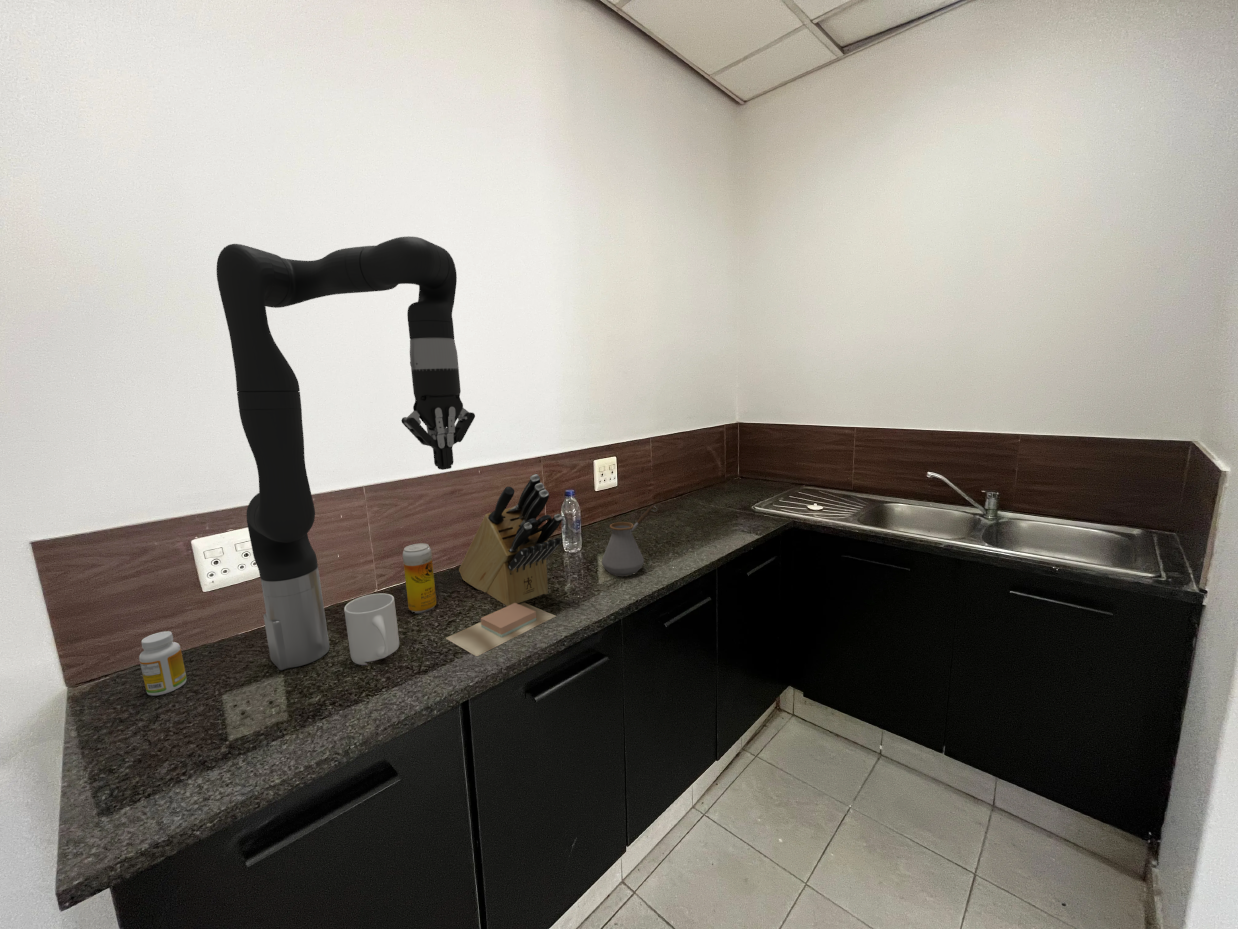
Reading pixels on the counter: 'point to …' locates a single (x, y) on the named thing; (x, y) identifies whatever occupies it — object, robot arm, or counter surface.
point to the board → (492, 634)
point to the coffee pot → (623, 549)
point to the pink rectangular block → (508, 619)
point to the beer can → (419, 577)
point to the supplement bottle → (162, 664)
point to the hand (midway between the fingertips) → (444, 468)
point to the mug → (371, 627)
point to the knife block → (513, 547)
